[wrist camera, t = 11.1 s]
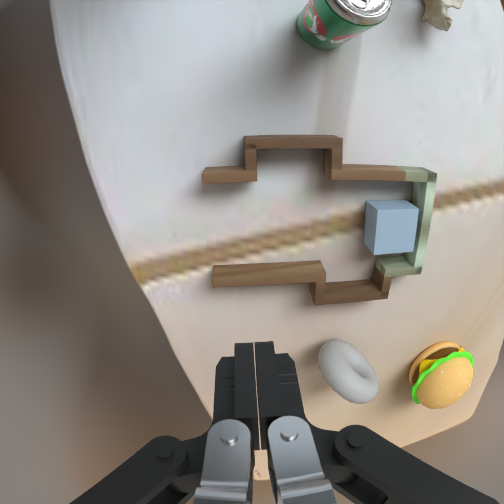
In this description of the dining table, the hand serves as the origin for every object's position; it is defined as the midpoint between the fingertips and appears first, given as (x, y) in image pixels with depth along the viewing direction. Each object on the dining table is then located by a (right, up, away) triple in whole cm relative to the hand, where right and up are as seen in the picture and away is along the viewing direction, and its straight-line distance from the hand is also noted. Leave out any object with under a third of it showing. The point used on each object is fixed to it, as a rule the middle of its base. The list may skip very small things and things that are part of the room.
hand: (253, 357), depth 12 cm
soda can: (+7, +26, +13) cm, 30 cm away
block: (+15, +8, +22) cm, 28 cm away
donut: (+12, -9, +30) cm, 33 cm away
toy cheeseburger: (+30, -14, +33) cm, 47 cm away
